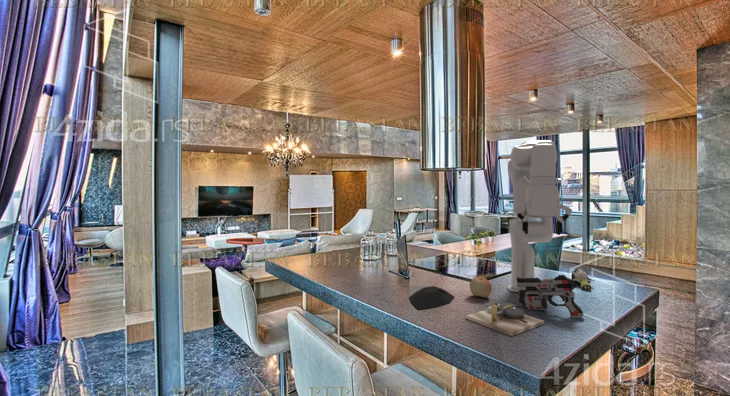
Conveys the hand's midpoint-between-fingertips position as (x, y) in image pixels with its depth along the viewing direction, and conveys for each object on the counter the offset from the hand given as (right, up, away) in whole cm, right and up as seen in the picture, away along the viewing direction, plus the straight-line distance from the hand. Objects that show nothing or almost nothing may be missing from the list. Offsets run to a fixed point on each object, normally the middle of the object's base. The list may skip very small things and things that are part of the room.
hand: (541, 234), depth 117 cm
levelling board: (-10, -31, +6) cm, 33 cm away
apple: (-9, -31, +34) cm, 47 cm away
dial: (-9, -29, +6) cm, 32 cm away
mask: (-32, -31, +30) cm, 54 cm away
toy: (+44, -30, +49) cm, 73 cm away
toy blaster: (+10, -31, +16) cm, 36 cm away
